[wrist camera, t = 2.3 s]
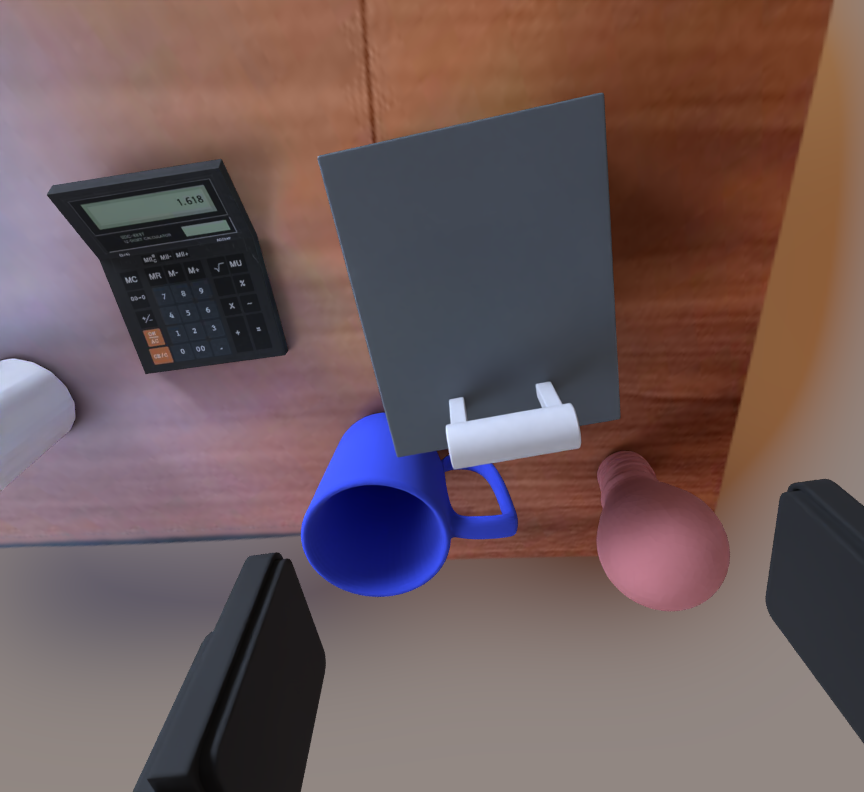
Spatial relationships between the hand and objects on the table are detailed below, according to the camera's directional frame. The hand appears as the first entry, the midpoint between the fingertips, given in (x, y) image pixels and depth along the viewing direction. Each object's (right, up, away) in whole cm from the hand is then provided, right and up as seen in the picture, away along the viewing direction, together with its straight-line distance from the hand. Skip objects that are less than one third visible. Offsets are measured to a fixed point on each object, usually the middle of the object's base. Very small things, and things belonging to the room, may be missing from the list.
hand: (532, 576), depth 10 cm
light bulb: (+12, -2, +28) cm, 31 cm away
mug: (-3, 0, +28) cm, 28 cm away
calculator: (-17, +11, +22) cm, 30 cm away
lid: (0, +8, +13) cm, 15 cm away
